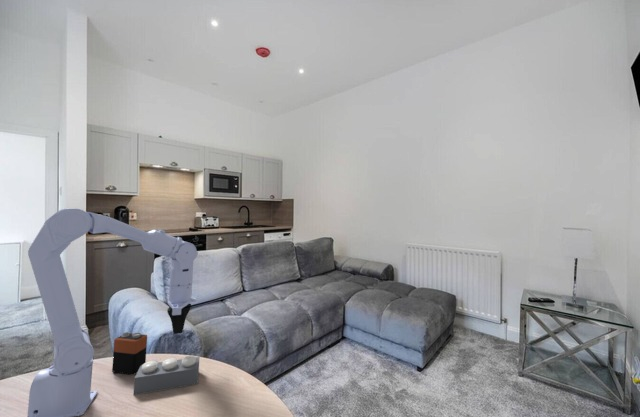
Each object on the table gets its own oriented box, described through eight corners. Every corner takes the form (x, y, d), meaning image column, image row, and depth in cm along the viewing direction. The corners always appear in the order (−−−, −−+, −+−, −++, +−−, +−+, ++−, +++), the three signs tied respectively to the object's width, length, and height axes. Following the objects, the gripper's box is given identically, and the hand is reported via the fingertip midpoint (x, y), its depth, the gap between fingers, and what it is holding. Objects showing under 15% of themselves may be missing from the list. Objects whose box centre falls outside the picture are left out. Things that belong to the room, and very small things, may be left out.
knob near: (138, 390, 65) (140, 369, 66) (142, 382, 68) (143, 362, 69) (154, 388, 67) (156, 366, 67) (157, 380, 70) (158, 360, 70)
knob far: (179, 383, 69) (181, 363, 69) (181, 376, 72) (182, 356, 72) (194, 381, 70) (195, 361, 70) (195, 374, 73) (196, 354, 73)
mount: (133, 395, 64) (134, 377, 64) (139, 380, 69) (140, 364, 70) (197, 383, 69) (198, 368, 69) (198, 371, 75) (199, 356, 75)
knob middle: (159, 387, 67) (161, 366, 67) (162, 379, 70) (163, 359, 70) (175, 384, 68) (176, 363, 68) (176, 377, 71) (178, 357, 72)
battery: (133, 375, 71) (136, 337, 72) (110, 373, 72) (113, 335, 73) (146, 367, 76) (148, 331, 76) (124, 364, 77) (127, 329, 77)
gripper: (194, 289, 70) (191, 341, 70) (197, 277, 84) (195, 321, 83) (164, 291, 68) (160, 345, 67) (172, 278, 81) (169, 323, 81)
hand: (178, 332), depth 75 cm, fingers closed
